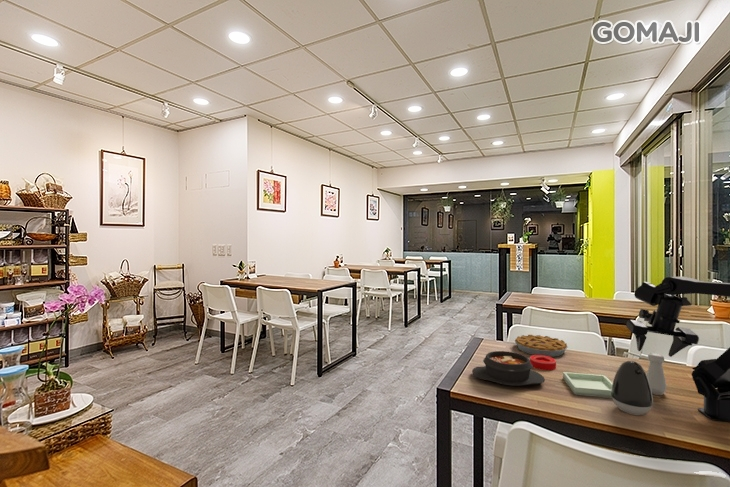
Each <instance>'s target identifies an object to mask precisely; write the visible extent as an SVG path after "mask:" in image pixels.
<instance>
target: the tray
mask: <svg viewBox="0 0 730 487" xmlns="http://www.w3.org/2000/svg"><path fill="white" fill-rule="evenodd" d="M562 380H563V381H564V382H565V383H566V384H567V386H568V387H569V388H570V390H571V391H572V393H573V394H574V395H578V396H587V397H588V396H590V397H598V398H599V397H600V398H611V399H613V397H612V396H611V389H612V384H613V381H611V380H610V379H609V378H608V377H607V376H606V375H605V374H604V375H603V374H592V373H581V372H580V373H579V372H569V371H568V372H567V371H563V372H562Z"/></svg>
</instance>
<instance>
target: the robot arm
mask: <svg viewBox="0 0 730 487" xmlns="http://www.w3.org/2000/svg"><path fill="white" fill-rule="evenodd" d="M690 294H691V295H692V294H698V295H708V296H709V295H710V296H717V297H718V296H719V297H730V282H718V281H702V280H699V279H696V278H693V277H689V276H688V277H687V276H683V275H681V276H666V277H664V278H663V279H662V281H661V282H660V283H659V284H657V285H654V284H652V283H651V282H649V281H643V282H641V284H640V285H639V286H638V287H637V288H636V290H634V298H636V299H637V300H638V301H642V302H643V303H645V304H647V305H650V306H652V307H656V306H657V308H656V310H654V311H653V312H650V311H649V310H648V309H644V308H641V309H639V310H640V311H639V312H638V318H640V319H643V321H640V320H634V319H629V320H628V321H626V325H625V327H626V328H627V329H628V330H629V331H630V332H631V334H633V335H634V336H635V341H636V349H637V351H638V352H641V351H642V349H643V347H644V345H645V343H646V340H647V335H648V333H653V334H660V335H666V336H672V343H671V345H670V349H669V350H668V357H670V358H672V357H674V355H676V354H678V353H679V352H680V351H682V350H683V349H686V348H687V347H689V346H693V345H698V343H699V341H700V337H699V335H697V333H695V332H694V331H693V330H692V329H690V328H688V327H687V328H686V327H679V326H677V327H676V325H677V324H680V321H681V320H680V319H679V316H680V313H681V311H682V308H683V307H688V306H689V307H690V306H692V303H691V301H690V300H689V299H688V297H686V296H684V297H682V296H681V297H680V296H678V295H690ZM643 322H647V323H648V325H645V324H644V323H643ZM691 369H692V370H693V371H692V372H691V376H692V381H693V382H694V384H695V388H696V390H697V393H698V394H699V395H701V396H703V407H702V408H701V407H697V410H698V411H699V412H700V413H702V414H703V415H705V417H707V418H709V419H710V420H712V421H720V422H727V423H728V422H730V347H729V348H727V349H726V350H725V351H724V352H723V353H722V354H720V355H719V356H718V357H717V358H710V359H709V358H708V359H702V360H700V361H699V362H698V363H697V365H696V366H695V367H691Z"/></svg>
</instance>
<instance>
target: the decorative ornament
mask: <svg viewBox="0 0 730 487" xmlns="http://www.w3.org/2000/svg"><path fill="white" fill-rule="evenodd" d="M529 360H530V363H531V364H532V366H533V368H534V369H537V370H542V371H553V370H554V371H555V370H556V369H557V361H556V359H555V358H553V357H548V356H544V355H533V354H532V355H530V357H529Z"/></svg>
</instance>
